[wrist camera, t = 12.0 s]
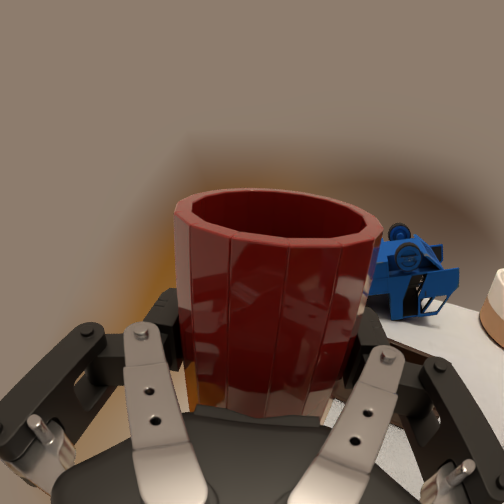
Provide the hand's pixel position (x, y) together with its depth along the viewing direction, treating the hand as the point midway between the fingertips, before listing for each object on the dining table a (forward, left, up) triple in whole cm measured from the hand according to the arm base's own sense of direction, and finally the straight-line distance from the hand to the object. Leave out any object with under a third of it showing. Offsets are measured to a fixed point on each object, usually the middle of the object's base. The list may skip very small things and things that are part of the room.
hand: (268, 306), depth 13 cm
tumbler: (-1, +2, -7) cm, 7 cm away
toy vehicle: (+4, -35, -6) cm, 35 cm away
